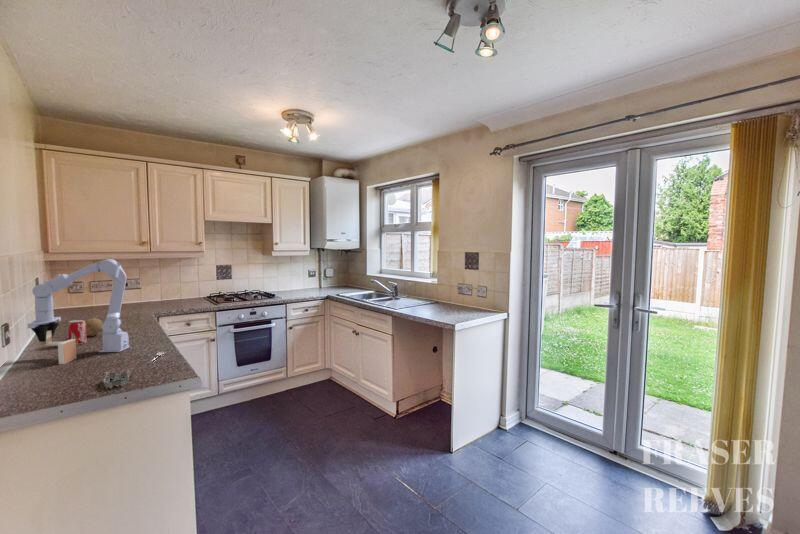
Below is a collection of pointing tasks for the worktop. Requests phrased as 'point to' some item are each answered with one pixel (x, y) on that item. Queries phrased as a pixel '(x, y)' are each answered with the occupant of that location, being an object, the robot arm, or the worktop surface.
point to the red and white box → (77, 331)
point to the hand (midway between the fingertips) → (45, 340)
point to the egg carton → (116, 378)
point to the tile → (67, 351)
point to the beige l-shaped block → (49, 340)
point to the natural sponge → (93, 326)
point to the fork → (157, 354)
